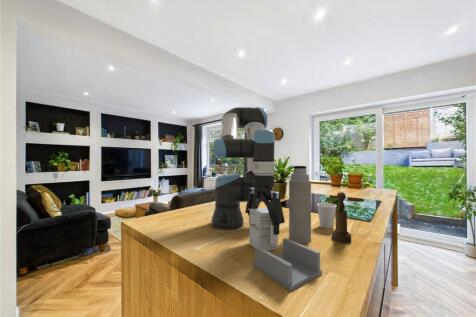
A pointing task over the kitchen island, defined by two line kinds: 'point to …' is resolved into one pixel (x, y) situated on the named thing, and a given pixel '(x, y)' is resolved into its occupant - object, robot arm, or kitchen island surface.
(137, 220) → the kitchen island surface
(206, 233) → the kitchen island surface
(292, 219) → the thermos bottle
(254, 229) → the supplement box
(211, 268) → the kitchen island surface
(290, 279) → the holder
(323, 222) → the dixie cup
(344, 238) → the brown wooden turned piece
